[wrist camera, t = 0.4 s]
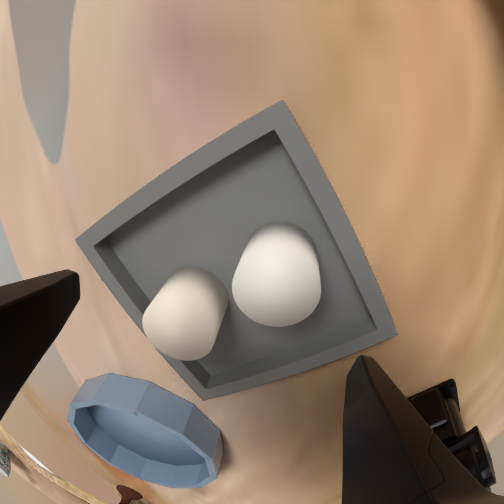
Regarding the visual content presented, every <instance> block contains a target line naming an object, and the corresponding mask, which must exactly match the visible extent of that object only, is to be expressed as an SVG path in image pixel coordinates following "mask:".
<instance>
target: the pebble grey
mask: <svg viewBox="0 0 504 504" xmlns="http://www.w3.org/2000/svg"><path fill="white" fill-rule="evenodd" d="M232 293H233V297H234V300H235V302H236V304H237V305H238V307H239V308H240V310H241V311H242V312H243V313H244V314H245V315H246V316H248V317H249V318H250V319H252V320H254V321H255V322H258V323H260V324H263V325H267V326H273V327H283V326H289V325H293V324H296V323H298V322H300V321H302V320H304V319H305V318H307V317H308V316H309V315H310V314H311V313H312V312H313V311H314V310H315V308H316V307H317V305H318V303H319V300H320V296H321V282H320V272H319V263H318V254H317V248H316V245H315V243H314V241H313V239H312V237H311V236H310V235H309V234H308V233H307V232H306V231H305V230H304V229H302V228H301V227H299V226H297V225H295V224H292V223H288V222H272V223H269V224H266V225H263V226H262V227H260V228H258V229H257V230H256V231H255V232H254V233H253V234H252V235H251V236H250V238H249V239H248V241H247V243H246V246H245V249H244V251H243V254H242V256H241V259H240V261H239V264H238V266H237V269H236V272H235V274H234V277H233V281H232Z"/></svg>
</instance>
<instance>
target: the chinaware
mask: <svg viewBox="0 0 504 504" xmlns="http://www.w3.org/2000/svg"><path fill="white" fill-rule="evenodd" d="M7 452H8V449H7V448H6V446H5V445H4V444H3V443H2V442H0V473H1V474H3V475H4V476H6V477H9V474H10V470H11V463H10V458H9V456H8V453H7Z"/></svg>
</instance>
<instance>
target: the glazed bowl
mask: <svg viewBox="0 0 504 504" xmlns="http://www.w3.org/2000/svg"><path fill="white" fill-rule="evenodd" d="M68 422H69V423H70V425H71V426H72V428H73V430H74V431H75V433H76V434H77V436H78V437H79V439H80V440H81V441H82V443H83V444H85V445H86V446H87V447H88V448H89V449H91V450H92V451H93V452H94V453H95V454H97V455H98V456H99V457H100V458H102V459H103V460H104V461H105V462H107V463H108V464H110V465H112V466H114V467H116V468H118V469H119V470H121V471H123V472H125V473H127V474H129V475H131V476H134V477H136V478H138V479H140V480H143V481H147V482H151V483H154V484H158V485H162V486H166V487H170V488H202V487H203V486H205V485H207V484H208V483H210V482H211V481H213V480H215V479H216V478H217V476H218V472H219V468H220V464H221V460H222V456H223V452H224V451H223V445H222V439H221V432H220V429H219V428H218V427H217V426H216V425H214V424H213V423H212V422H211V421H210V420H209V419H208V418H207V417H206V416H205V415H204V414H203V413H202V412H201V411H200V410H199V409H198V408H197V407H196V406H195V405H194V404H193V403H191V402H189V401H187V400H185V399H183V398H181V397H179V396H177V395H175V394H173V393H171V392H169V391H167V390H165V389H163V388H161V387H159V386H158V385H156V384H154V383H152V382H150V381H145V380H140V379H135V378H130V377H126V376H121V375H117V374H112V373H108V374H105V375H102V376H98V377H95V378H92V379H89V380H86V381H85V382H84V384H83V385H82V387H81V388H80V390H79V391H78V393H77V394H76V396H75V397H74V398H73V400H72V402H71V403H70V408H69V415H68Z"/></svg>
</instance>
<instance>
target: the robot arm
mask: <svg viewBox="0 0 504 504" xmlns="http://www.w3.org/2000/svg"><path fill="white" fill-rule="evenodd" d="M79 299H80V280H79V275H78V273H77V272H74V271H71V270H68V269H67V270H63V271H58V272H54V273H50V274H47V275H43V276H39V277H35V278H31V279H27V280H23V281H19V282H15V283H12V284H8V285H4V286H0V421H1V419H2V417H3V416H4V414H5V412H6V411H7V409H8V408H9V406H10V404H11V403H12V401H13V400H14V398H15V397H16V395H17V394H18V392H19V391H20V389H21V387H22V386H23V384H24V383H25V381H26V380H27V378H28V377H29V376H30V374H31V373H32V371H33V370H34V368H35V367H36V365H37V364H38V362H39V361H40V360H41V358H42V357H43V355H44V354H45V353H46V351H47V350H48V348H49V347H50V346H51V344H52V343H53V342H54V340H55V339H56V337H57V336H58V334H59V333H60V331H61V330H62V328H63V326H64V325H65V323H66V321H67V319H68V318H69V316H70V314H71V313H72V311H73V310H74V308H75V306H76V305H77V303H78V301H79ZM495 483H496V478H495V473H494V469H493V463H492V459H491V456H490V453H489V450H488V448H487V445H486V442H485V440H484V438H483V436H482V434H481V432H480V430H479V428H478V426H475V427H473V428H472V429H471V430H470V431H468V432H466V430H465V427H464V424H463V421H462V418H461V416H460V408H459V401H458V394H457V388H456V383H455V380H454V379H450V380H448V381H446V382H444V383H442V384H439V385H437V386H435V387H433V388H431V389H428V390H426V391H424V392H421V393H419V394H417V395H414V396H412V397H410V398H406V397H405V396H404V395H403V394H402V392H401V391H400V390H399V389H398V387H397V386H396V385H395V384H394V383H393V381H392V380H391V379H390V378H389V377H388V375H387V374H386V373H385V372H384V371H383V369H382V368H381V367H380V366H379V365H378V363H377V362H376V361H375V360H374V359H373V358H372V357H369V356H364V355H360V356H359V357H358V358H357V359H356V361H355V363H354V365H353V366H352V368H351V370H350V371H349V373H348V376H347V380H346V391H345V402H344V413H343V481H342V504H504V496H500V495H496V494H494V493H492V492H491V489H490V486H492V485H494V484H495Z"/></svg>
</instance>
